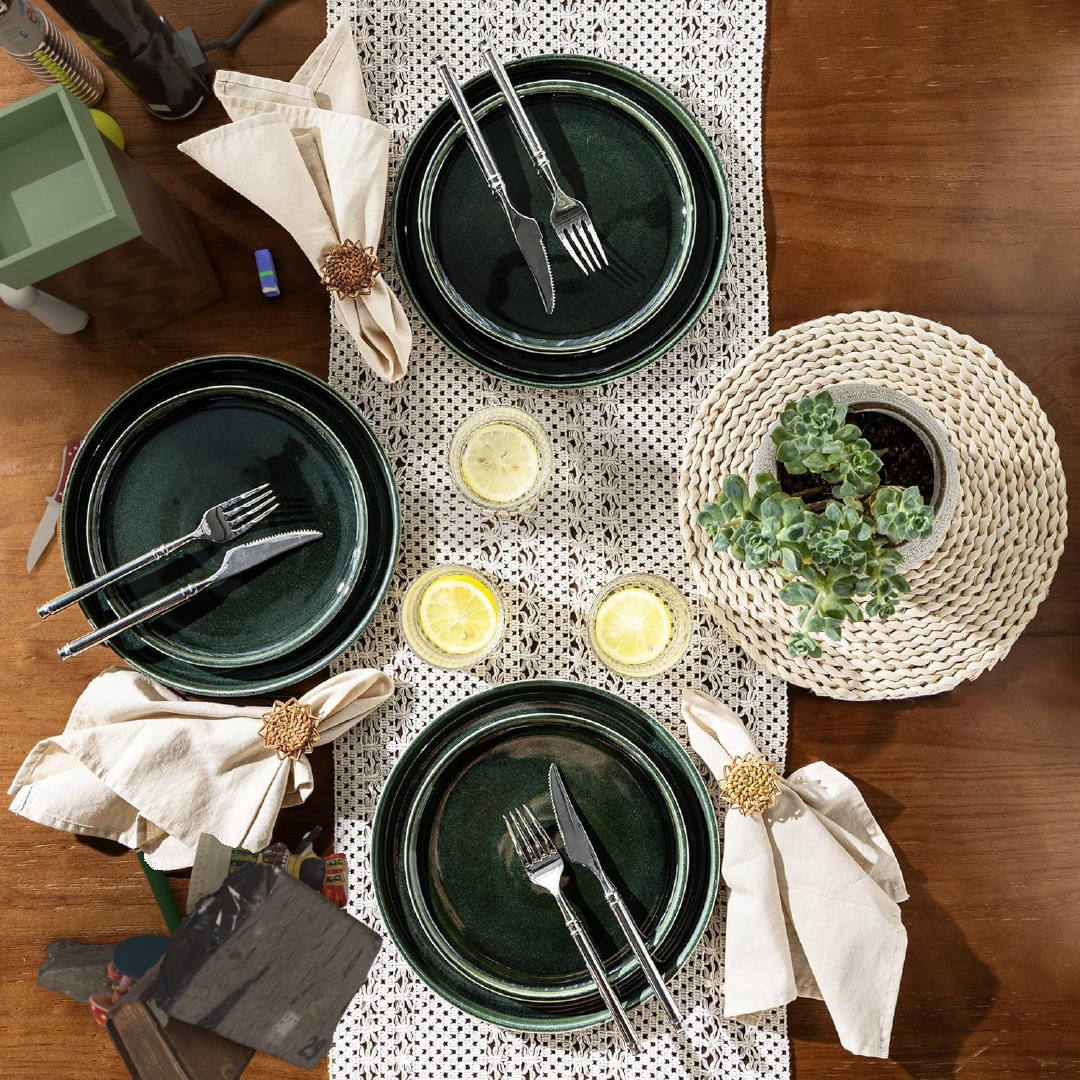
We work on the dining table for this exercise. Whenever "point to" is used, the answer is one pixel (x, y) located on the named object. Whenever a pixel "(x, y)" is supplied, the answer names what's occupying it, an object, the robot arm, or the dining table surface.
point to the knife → (51, 509)
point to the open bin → (56, 189)
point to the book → (169, 1040)
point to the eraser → (267, 273)
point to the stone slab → (267, 964)
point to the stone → (78, 970)
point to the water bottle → (47, 51)
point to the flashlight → (162, 895)
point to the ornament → (108, 127)
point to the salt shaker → (45, 308)
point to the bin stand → (141, 261)
